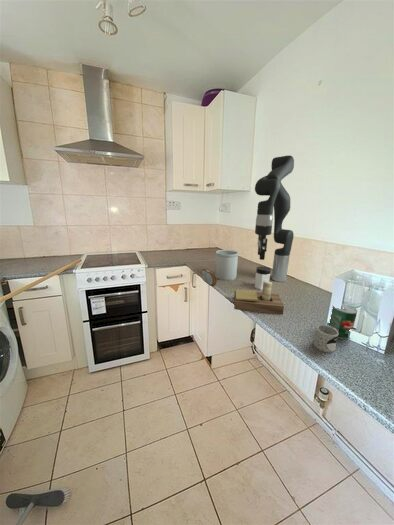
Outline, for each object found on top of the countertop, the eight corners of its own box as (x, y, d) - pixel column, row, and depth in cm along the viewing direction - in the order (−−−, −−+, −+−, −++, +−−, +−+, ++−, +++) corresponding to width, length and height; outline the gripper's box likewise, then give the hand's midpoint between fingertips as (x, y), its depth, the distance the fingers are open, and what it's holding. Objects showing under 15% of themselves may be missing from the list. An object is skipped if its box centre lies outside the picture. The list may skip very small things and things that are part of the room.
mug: (329, 355, 73) (332, 338, 71) (309, 344, 78) (312, 328, 76) (342, 345, 78) (346, 329, 76) (323, 335, 84) (327, 320, 82)
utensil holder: (215, 280, 139) (217, 254, 134) (213, 273, 153) (214, 249, 148) (238, 281, 139) (240, 254, 134) (234, 273, 153) (236, 249, 149)
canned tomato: (330, 325, 91) (335, 301, 88) (352, 333, 86) (359, 308, 83) (325, 333, 85) (330, 307, 82) (348, 342, 80) (355, 315, 77)
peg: (260, 303, 109) (263, 281, 106) (268, 304, 108) (271, 281, 105) (261, 307, 105) (263, 284, 102) (269, 308, 104) (272, 284, 101)
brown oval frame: (216, 287, 128) (217, 273, 126) (212, 288, 127) (212, 274, 125) (204, 279, 141) (205, 266, 139) (200, 279, 140) (201, 267, 138)
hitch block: (234, 297, 116) (234, 290, 115) (277, 301, 112) (278, 294, 111) (234, 309, 102) (234, 301, 101) (282, 314, 99) (284, 306, 98)
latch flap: (235, 291, 113) (235, 289, 113) (255, 291, 111) (255, 290, 111) (235, 300, 103) (235, 298, 102) (257, 301, 101) (257, 299, 101)
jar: (257, 290, 126) (259, 270, 122) (251, 285, 133) (253, 266, 130) (271, 289, 127) (274, 270, 124) (265, 284, 135) (267, 266, 131)
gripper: (254, 222, 110) (252, 253, 114) (257, 225, 96) (254, 260, 101) (269, 222, 108) (266, 253, 113) (274, 226, 95) (271, 261, 100)
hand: (260, 257), depth 107 cm, fingers open, 8 cm apart
